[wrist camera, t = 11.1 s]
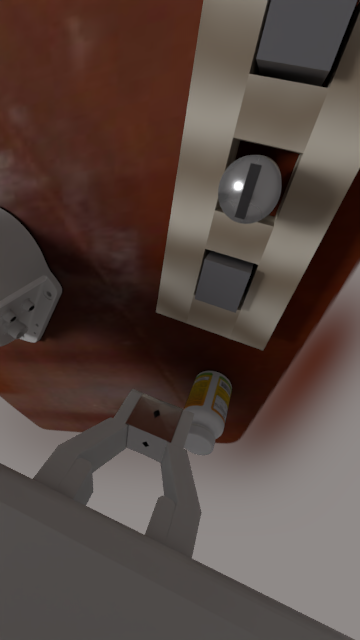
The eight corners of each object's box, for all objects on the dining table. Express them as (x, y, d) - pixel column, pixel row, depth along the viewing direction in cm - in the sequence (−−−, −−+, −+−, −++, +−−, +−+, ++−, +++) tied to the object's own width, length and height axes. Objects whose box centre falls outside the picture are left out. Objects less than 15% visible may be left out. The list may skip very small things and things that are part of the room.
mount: (265, 329, 29) (263, 350, 25) (168, 296, 31) (155, 312, 27) (484, -111, 12) (556, -206, 9) (245, -124, 14) (235, -206, 11)
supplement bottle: (192, 388, 38) (170, 447, 30) (199, 364, 35) (176, 422, 27) (227, 401, 37) (213, 465, 29) (236, 377, 34) (224, 442, 26)
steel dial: (269, 215, 19) (266, 232, 15) (225, 203, 20) (209, 217, 15) (290, 161, 17) (293, 163, 13) (239, 149, 18) (226, 147, 13)
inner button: (242, 289, 27) (235, 312, 23) (206, 278, 27) (194, 298, 23) (255, 254, 24) (251, 273, 20) (216, 242, 25) (204, 259, 21)
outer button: (318, 90, 17) (329, 71, 13) (261, 80, 18) (256, 58, 14) (352, 1, 15) (378, -55, 11) (285, -7, 15) (287, -64, 12)
